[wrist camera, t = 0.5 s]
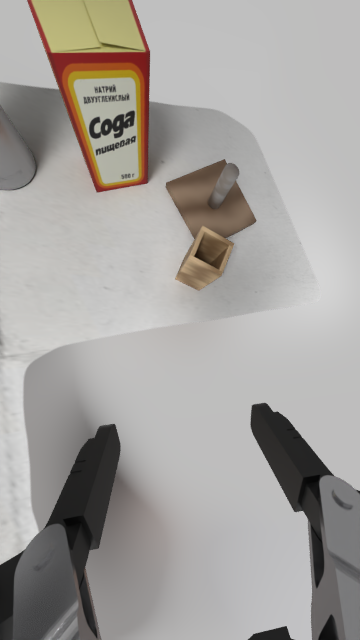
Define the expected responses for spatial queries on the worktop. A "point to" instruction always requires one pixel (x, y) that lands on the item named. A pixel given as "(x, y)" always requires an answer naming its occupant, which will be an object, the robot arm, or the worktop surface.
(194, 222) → the plate
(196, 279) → the wooden holder box
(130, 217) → the worktop surface
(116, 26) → the baking soda box
